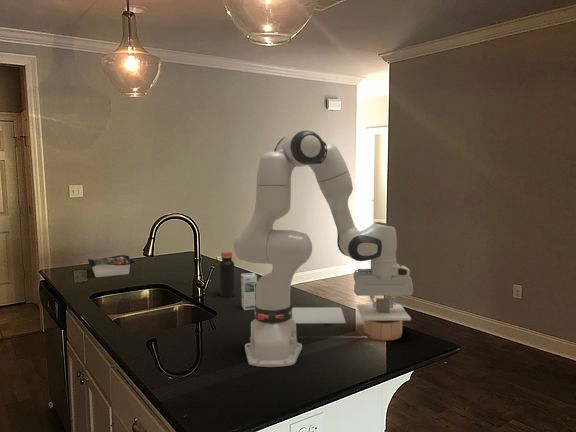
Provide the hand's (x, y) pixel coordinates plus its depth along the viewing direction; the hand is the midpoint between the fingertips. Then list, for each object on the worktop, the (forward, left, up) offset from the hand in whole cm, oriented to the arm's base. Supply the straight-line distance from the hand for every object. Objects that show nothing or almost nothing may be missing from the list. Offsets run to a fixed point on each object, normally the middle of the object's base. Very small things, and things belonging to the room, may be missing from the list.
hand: (382, 307), depth 170 cm
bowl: (0, 0, -10) cm, 10 cm away
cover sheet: (0, 0, -2) cm, 2 cm away
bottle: (+52, +62, -10) cm, 81 cm away
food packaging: (+102, +135, -10) cm, 169 cm away
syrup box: (+32, +50, -10) cm, 60 cm away
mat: (+19, +22, -10) cm, 31 cm away
